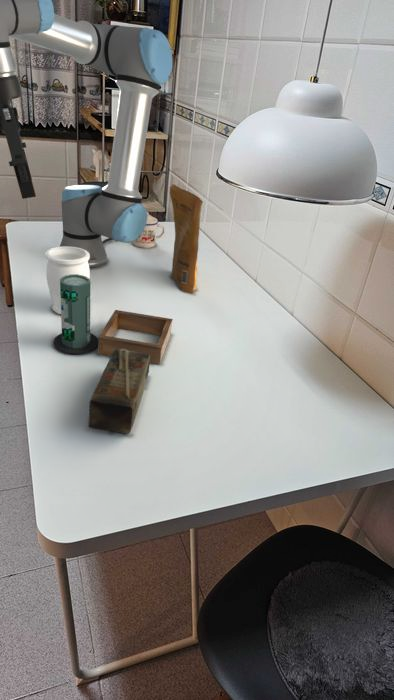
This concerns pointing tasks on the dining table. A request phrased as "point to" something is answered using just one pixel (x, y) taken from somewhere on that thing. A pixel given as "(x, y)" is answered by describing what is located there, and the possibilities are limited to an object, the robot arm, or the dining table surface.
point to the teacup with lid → (149, 233)
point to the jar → (64, 269)
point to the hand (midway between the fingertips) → (27, 188)
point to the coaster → (76, 351)
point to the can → (75, 310)
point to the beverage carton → (119, 391)
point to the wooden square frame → (135, 324)
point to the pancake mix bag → (185, 237)
